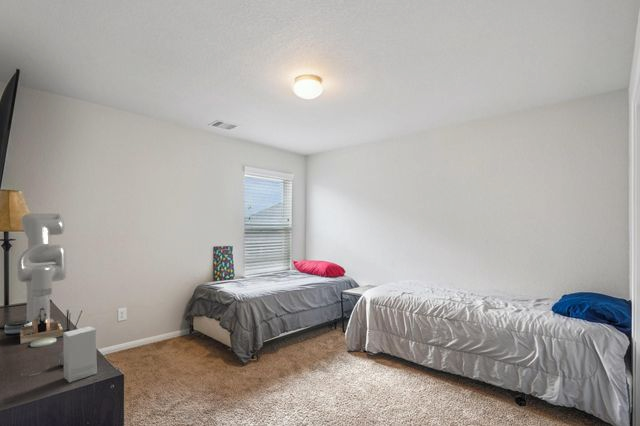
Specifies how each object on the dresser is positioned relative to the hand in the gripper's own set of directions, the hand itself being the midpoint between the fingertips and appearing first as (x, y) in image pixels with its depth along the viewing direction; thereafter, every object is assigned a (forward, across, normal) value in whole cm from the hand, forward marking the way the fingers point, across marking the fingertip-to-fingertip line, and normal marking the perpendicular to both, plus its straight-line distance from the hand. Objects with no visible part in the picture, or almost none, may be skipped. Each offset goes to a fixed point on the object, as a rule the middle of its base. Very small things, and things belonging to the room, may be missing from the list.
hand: (41, 329), depth 159 cm
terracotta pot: (+3, 0, 0) cm, 3 cm away
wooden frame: (+3, 0, 0) cm, 3 cm away
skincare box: (+3, +68, +7) cm, 68 cm away
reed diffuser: (+3, +53, +6) cm, 53 cm away
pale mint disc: (+3, +15, 0) cm, 15 cm away
